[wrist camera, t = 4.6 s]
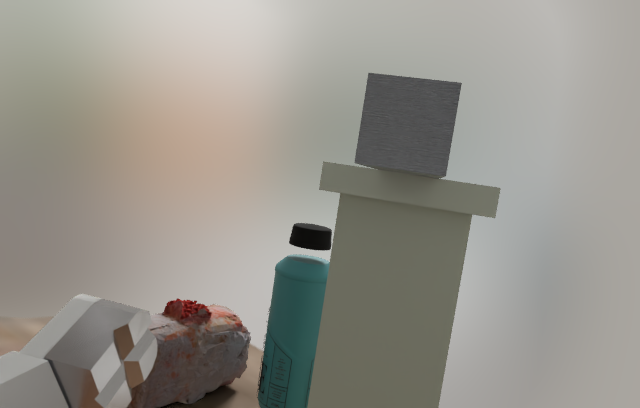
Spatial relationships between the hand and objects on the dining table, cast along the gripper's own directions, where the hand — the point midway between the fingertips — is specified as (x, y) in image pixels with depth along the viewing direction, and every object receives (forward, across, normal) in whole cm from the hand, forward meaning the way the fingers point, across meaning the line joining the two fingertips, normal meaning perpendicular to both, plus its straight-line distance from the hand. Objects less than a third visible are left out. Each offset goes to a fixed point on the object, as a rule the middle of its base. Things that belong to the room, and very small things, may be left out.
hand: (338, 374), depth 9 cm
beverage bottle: (+21, +9, +38) cm, 44 cm away
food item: (+21, +21, +38) cm, 48 cm away
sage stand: (+9, 0, +30) cm, 32 cm away
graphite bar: (+18, 0, +5) cm, 19 cm away
